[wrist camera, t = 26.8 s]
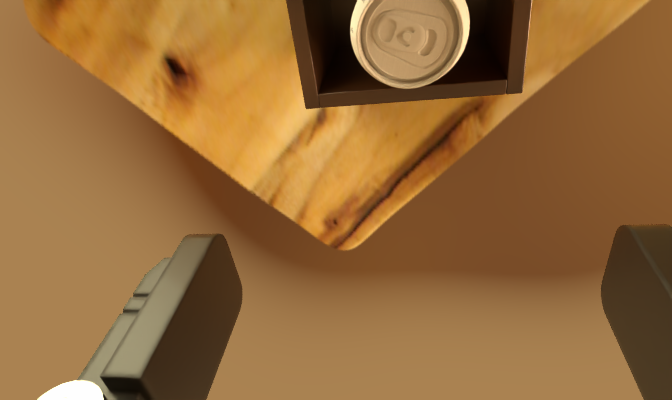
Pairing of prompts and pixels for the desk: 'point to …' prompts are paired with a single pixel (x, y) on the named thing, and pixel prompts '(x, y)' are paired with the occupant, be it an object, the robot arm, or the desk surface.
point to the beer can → (409, 39)
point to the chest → (460, 81)
